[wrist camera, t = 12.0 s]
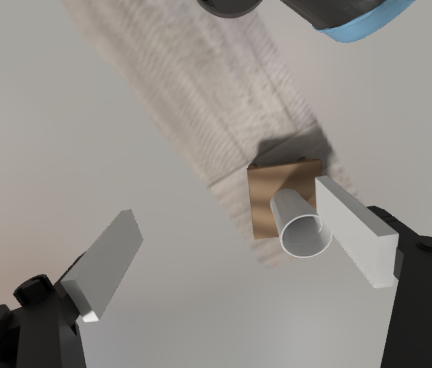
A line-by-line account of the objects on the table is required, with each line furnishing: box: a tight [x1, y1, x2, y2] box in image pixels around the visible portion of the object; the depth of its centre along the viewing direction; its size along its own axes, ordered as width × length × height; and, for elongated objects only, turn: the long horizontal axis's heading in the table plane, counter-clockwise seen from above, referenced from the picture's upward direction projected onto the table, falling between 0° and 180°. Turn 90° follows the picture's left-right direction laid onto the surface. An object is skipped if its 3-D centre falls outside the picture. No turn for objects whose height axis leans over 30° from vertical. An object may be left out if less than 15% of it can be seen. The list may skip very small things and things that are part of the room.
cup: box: [270, 189, 333, 258], centre depth 40 cm, size 8×8×12 cm
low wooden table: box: [247, 157, 322, 239], centre depth 49 cm, size 16×14×6 cm
